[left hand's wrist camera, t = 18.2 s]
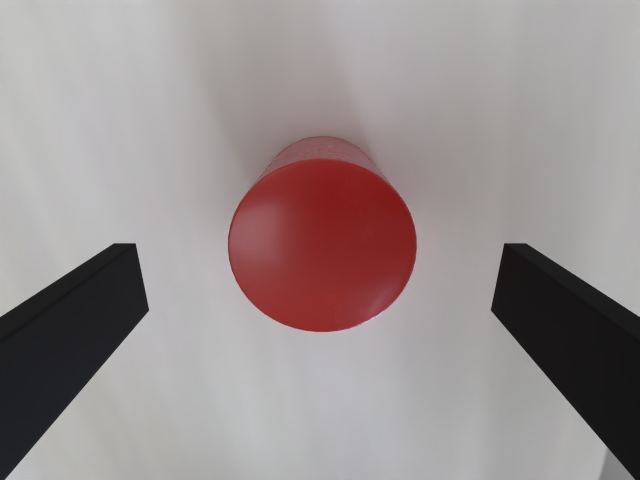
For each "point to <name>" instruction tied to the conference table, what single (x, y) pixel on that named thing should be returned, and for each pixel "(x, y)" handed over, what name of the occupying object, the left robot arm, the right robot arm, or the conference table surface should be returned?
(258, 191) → the canister
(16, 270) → the conference table surface
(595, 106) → the conference table surface
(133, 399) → the conference table surface
